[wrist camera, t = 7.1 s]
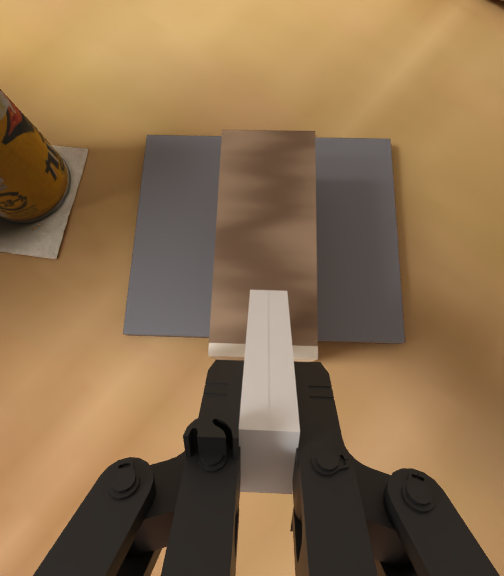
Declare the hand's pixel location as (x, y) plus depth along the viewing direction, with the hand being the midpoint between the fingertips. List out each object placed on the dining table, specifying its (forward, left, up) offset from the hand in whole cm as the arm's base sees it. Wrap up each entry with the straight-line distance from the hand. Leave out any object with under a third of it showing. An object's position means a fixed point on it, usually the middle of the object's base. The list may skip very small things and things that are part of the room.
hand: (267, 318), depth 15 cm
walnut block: (0, -2, -4) cm, 5 cm away
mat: (0, +7, -8) cm, 10 cm away
